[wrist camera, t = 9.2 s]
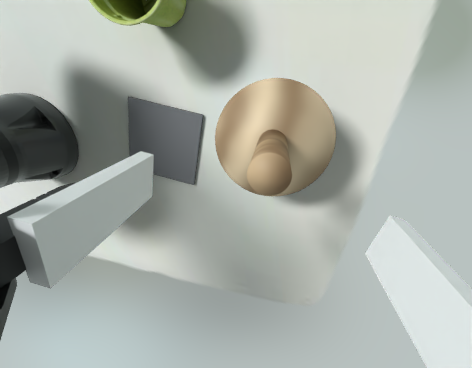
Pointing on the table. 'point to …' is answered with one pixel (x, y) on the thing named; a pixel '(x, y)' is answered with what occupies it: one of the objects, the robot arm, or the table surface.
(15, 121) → the robot arm
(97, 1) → the plant pot
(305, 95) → the lid
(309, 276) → the table surface
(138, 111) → the mat
